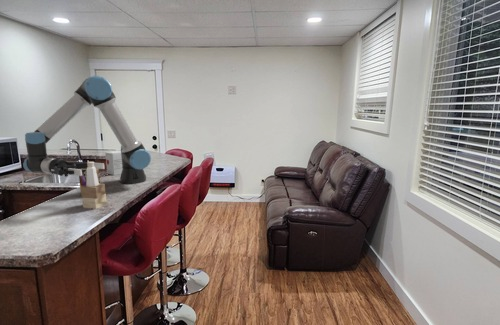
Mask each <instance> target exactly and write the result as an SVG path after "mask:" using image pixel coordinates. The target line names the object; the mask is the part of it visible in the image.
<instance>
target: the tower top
mask: <svg viewBox="0 0 500 325" xmlns="http://www.w3.org/2000/svg"><path fill="white" fill-rule="evenodd" d="M81 192H82V195H81V199H82V198H98V197H100V196H102V195H104V194H106V185H105V183H101V182H100V183H99V185H98V186H94V187H87V186H86V185H85V186H83V187H81V190H80V193H81Z"/></svg>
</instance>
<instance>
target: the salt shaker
mask: <svg viewBox="0 0 500 325" xmlns="http://www.w3.org/2000/svg"><path fill="white" fill-rule="evenodd" d="M86 162H87V166H88V167H87V180H86V186H87V187H94V186H98V185H99V182H98V177H97V173H96V168H95V167H94V162H95V161H94V162H92V161H86Z"/></svg>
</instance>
